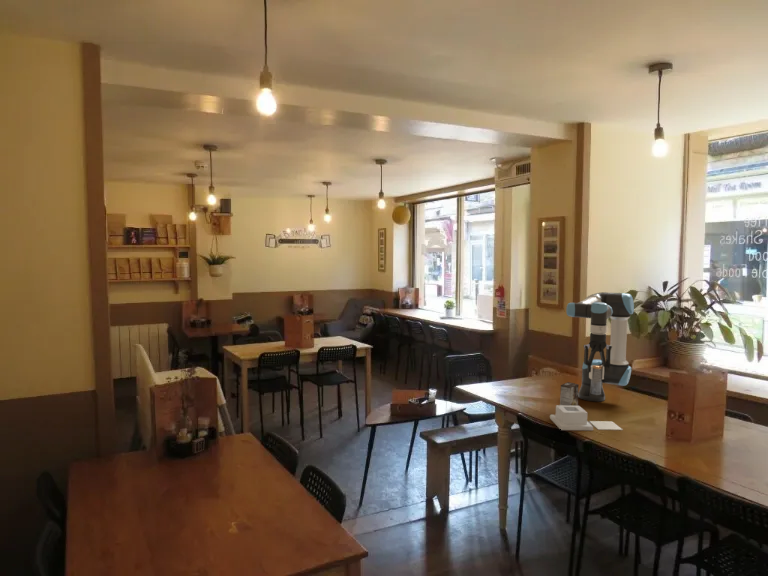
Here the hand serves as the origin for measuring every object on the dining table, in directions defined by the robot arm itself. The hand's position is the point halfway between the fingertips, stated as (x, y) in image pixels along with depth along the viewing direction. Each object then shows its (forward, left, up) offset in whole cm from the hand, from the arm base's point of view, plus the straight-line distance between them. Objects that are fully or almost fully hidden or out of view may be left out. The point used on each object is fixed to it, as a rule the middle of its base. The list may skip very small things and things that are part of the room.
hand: (596, 378), depth 267 cm
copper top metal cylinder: (0, 0, -8) cm, 8 cm away
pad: (+1, +5, -24) cm, 25 cm away
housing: (-1, -12, -24) cm, 27 cm away
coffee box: (-19, -7, -25) cm, 32 cm away
